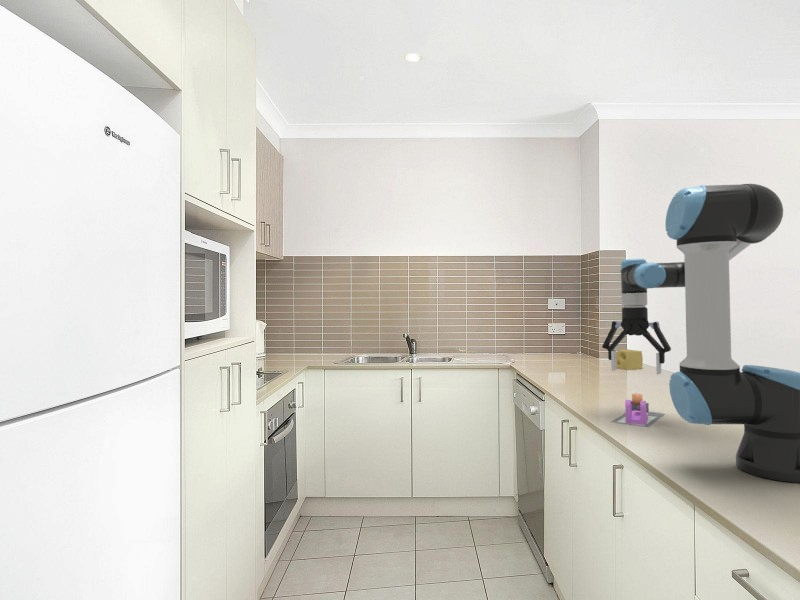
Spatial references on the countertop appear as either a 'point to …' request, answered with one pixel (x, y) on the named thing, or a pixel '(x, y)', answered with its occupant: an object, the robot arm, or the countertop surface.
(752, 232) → the robot arm
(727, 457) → the countertop surface
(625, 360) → the cheese
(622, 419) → the grey flat plate
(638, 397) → the button
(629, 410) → the bracket
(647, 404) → the button housing
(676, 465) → the countertop surface
